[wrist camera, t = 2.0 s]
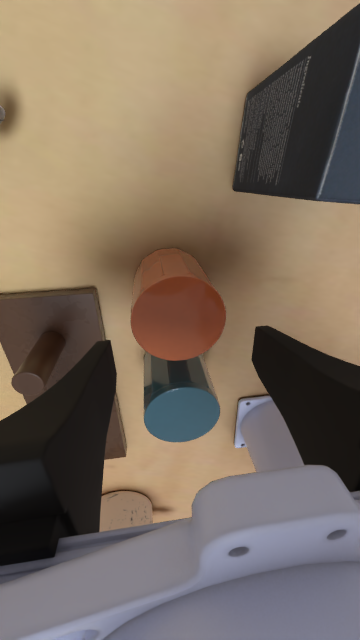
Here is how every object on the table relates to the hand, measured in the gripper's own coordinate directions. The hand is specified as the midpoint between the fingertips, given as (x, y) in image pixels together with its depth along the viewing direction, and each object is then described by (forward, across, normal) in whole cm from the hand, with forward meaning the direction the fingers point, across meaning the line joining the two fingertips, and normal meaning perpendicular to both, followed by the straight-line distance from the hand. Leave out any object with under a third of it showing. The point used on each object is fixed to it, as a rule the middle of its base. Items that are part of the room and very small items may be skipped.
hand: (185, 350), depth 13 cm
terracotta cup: (+10, 0, 0) cm, 10 cm away
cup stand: (+10, +10, +10) cm, 17 cm away
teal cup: (+10, 0, +8) cm, 13 cm away
